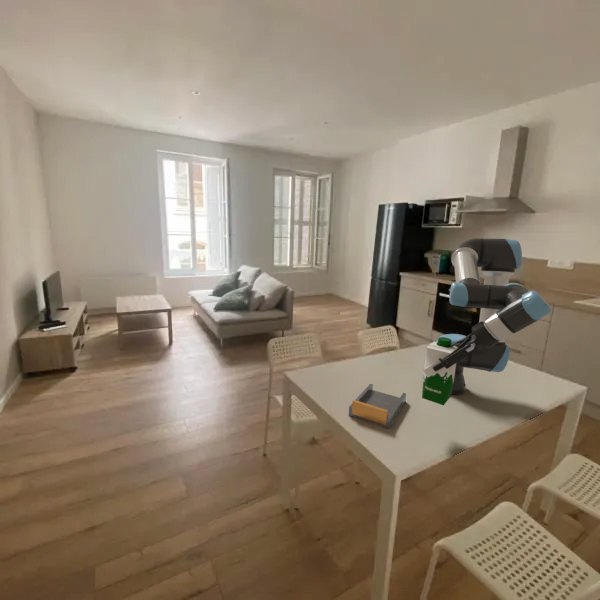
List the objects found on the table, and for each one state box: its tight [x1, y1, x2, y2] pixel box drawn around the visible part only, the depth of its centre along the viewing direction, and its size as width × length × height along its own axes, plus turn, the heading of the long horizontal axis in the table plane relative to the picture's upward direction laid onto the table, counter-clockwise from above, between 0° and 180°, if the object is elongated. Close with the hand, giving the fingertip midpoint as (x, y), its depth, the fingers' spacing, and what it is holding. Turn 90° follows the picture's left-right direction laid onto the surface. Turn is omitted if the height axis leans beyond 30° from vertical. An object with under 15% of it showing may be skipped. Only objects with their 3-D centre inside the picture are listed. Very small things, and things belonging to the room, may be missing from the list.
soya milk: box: [421, 336, 458, 406], centre depth 105 cm, size 9×9×20 cm
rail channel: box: [348, 383, 407, 430], centre depth 122 cm, size 22×15×6 cm
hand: (428, 368), depth 106 cm, fingers closed on soya milk, 9 cm apart
